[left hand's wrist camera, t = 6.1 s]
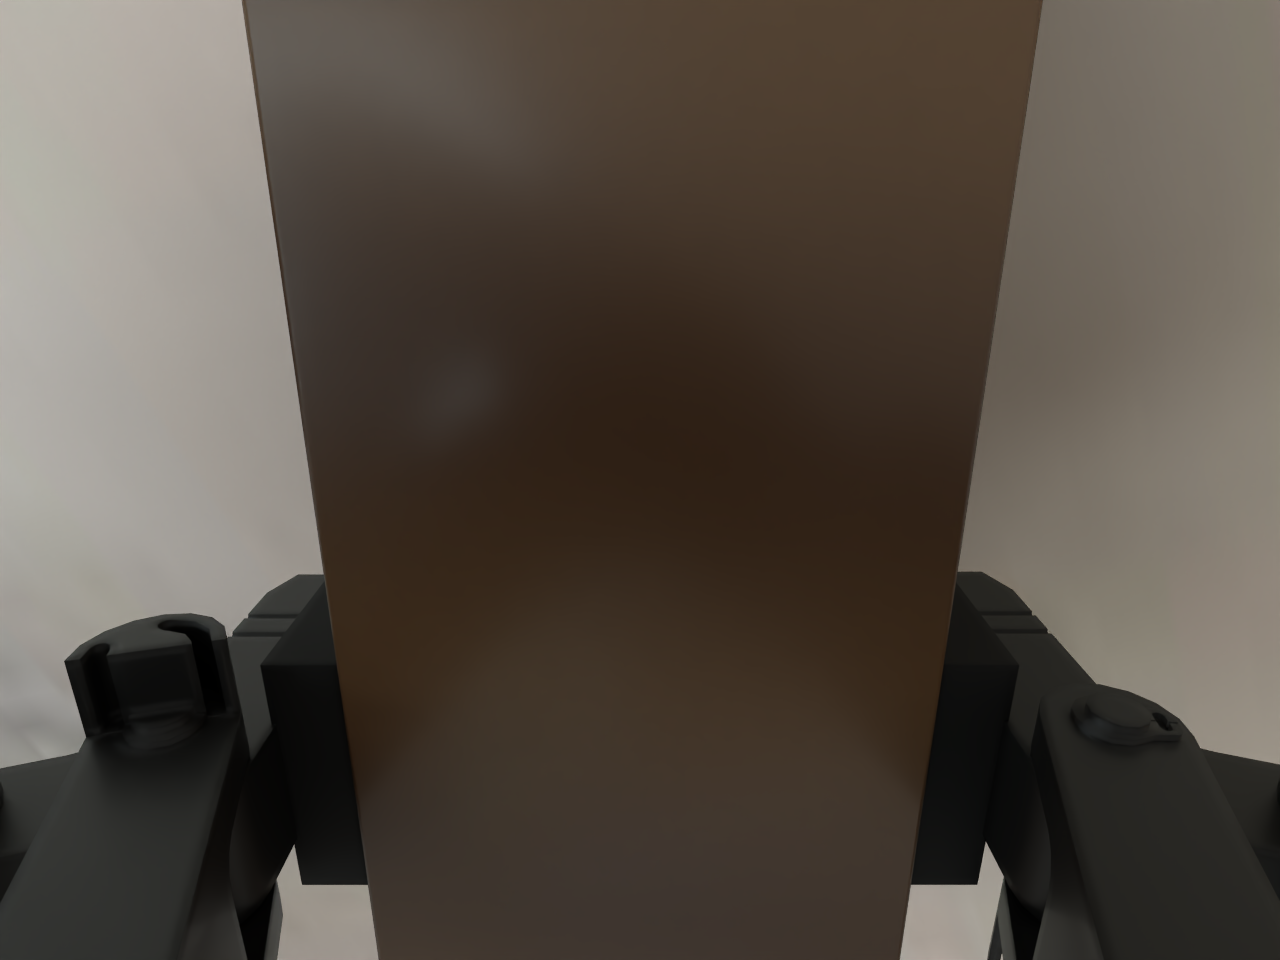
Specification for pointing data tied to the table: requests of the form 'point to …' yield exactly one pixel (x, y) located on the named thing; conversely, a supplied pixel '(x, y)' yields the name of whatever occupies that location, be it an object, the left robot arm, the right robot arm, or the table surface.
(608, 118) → the bar
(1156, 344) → the table surface
